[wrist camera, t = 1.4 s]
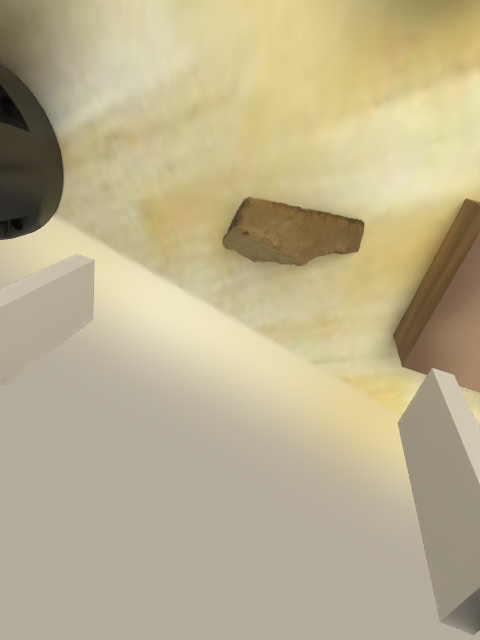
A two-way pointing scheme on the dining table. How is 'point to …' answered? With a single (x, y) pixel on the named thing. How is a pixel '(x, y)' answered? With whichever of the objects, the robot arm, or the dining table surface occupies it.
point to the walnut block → (448, 307)
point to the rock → (290, 233)
